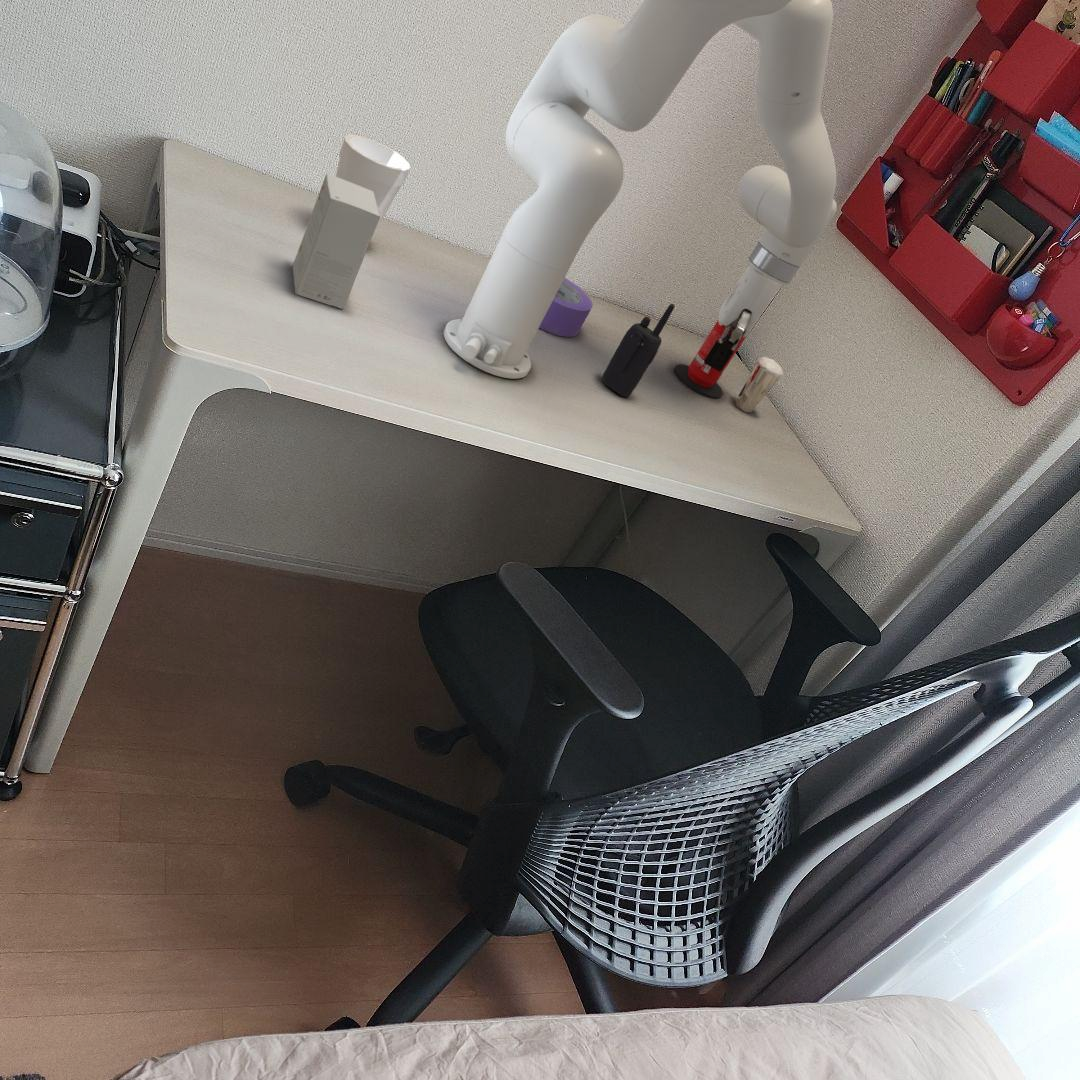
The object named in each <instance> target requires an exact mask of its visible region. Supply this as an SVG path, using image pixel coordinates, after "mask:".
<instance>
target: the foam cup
mask: <svg viewBox="0 0 1080 1080" xmlns="http://www.w3.org/2000/svg"><path fill="white" fill-rule="evenodd" d="M338 156H339V160H338V164H337V169H336V173H335V176H336V177H338V178H341V179H343V180H346V181H348V182H351V183H353V184H356V185H358V186H361V187H363V188H366V189H368V190H371V191H373V192H374V195H375V199H376V203H377V207H378V210H379V214H380V219H379V221H378V223H377V226H376V228H375V231H374V233H373V236H374V234H375V233H376V231H377V230H378V228H379V226H380V224H381V222H382V221H383V219H384V217H385V215H386V213H387V211H388V210H389V208H390V206H391V204H392V203H393V201H394V200H395V197H396V196H397V194H398V192H399V191H400V189H401V187H402V186H403V185H405V182H406V180H407V177H408V175H409V172H410V170H411V166H410V165H411V164H410V163H409V162H408V160H406V158H405V157H404V156H403V155H401V154H400V153H398V152H397V151H395V150H394V149H392V148H391V147H389V146H387V145H385V144H383V143H381V142H379V141H377V140H374V139H372V138H369V137H367V136H364V135H357V134H348V135H345V136H344V139H343V142H342V145H341V147H340V150H339V155H338Z"/></svg>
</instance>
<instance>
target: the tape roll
mask: <svg viewBox="0 0 1080 1080" xmlns="http://www.w3.org/2000/svg"><path fill="white" fill-rule="evenodd" d="M593 306H594V305H593V301H592V299H591V298H590V296H589V295H588V294H587V293H586V292H585V291H584V290H583V289H582V288H581V287H579V285H577V284H576V283H574V282H572V281H571V280H570V279H568V278H566V277H565V278H564V280H563V282H562V284H561V286H560V288H559V290H558V292H557V293H556V295H555V297H554V299H553V301H552V303H551V305H550V307H549V309H548V311H547V313H546V315H545V317H544V318H543V320H542V322H541V324H540V326H539V328H538V329H541V330H542V331H545V332H547V333H549V334H552V335H555V336H559V337H564V338H573V337H576V336H577V335H578V334H579V333H580V331H581V329H582V327H583V325H584V323H585V322H586V320H587V318H588V316H589V314H590V312H591V311H592V309H593Z"/></svg>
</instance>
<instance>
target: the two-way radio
mask: <svg viewBox="0 0 1080 1080" xmlns="http://www.w3.org/2000/svg"><path fill="white" fill-rule="evenodd" d="M675 307H676V305H675V304H674V303H669V305H668V306H667V308H666V309H665V311H664V312H663V314H662V316H661V317H660V319H659V321H658V322H657V324H656V325H655V327H654V328H653V330H652V329H651V328H649V325H650V323H651V318H650V317H649V316H644V317H643V318H642V320H641V321H640V322H638V323H633V324H632V325H631V326H630V327H629V328H628V330H626V332H625V334H624V336H623V337H622V339H621V341H620V342H619V344H618V346H617V348H616V350H615V351H614V354H612V357H611V359H609V360H610V361H609V362H608V365H607V366H606V369H605V370H604V372H603V373H602V377H601V380H602V381H603V383H604V384H605V385H606V386H607V387H609V388H610V389H611V390H612V391H614V392H615V393H617V394H618V395H619V396H621V397H630V396H631V395H632V394H633V392H634V390H635V389H636V387H637V386H638V385H639V383H640V381H641V380H642V378H643V377H644V375H645V374H646V372H647V370H648V368H649V366H650V365H651V364H652V363H653V361H654V359H655V357H656V355H657V353H658V352H659V349H660V346H661V344H662V338H661V336H660V334H661V333H662V331H663V329H664V327H665V326H666V324H667V322H668V320H669V319H670V316H671V315H672V313H673V311H674V309H675Z"/></svg>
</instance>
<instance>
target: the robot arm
mask: <svg viewBox="0 0 1080 1080" xmlns="http://www.w3.org/2000/svg"><path fill="white" fill-rule="evenodd" d="M833 23H834V7H833V2H832V0H643V1H642V3H641V4H640V6H639V7H638V9H637V10H636V12H635V13H634V14H633V16H631V19H630V20H629V21H628V22H627V24H626V25H624V24H623V23H621V22H620V21H618V20H617V19H615V18H613V17H611V16H608V15H605V14H599V13H598V14H596V13H595V14H589V15H585V16H584V17H580V18H579V19H577V20H576V21H574V22H572V24H571V25H569V26H568V27H567V28H565V30H564V31H563V32H562V33H561V34H560V35H559V37H557V39H556V41H555V42H554V43H553V45H552V47H551V48H550V50H549V52H548V53H547V55H546V56H545V58H544V60H543V61H542V62H541V64H540V66H539V67H538V70H537V71H536V72H535V74H534V76H533V77H532V79H531V81H530V82H529V84H528V85H527V87H526V89H525V90H524V91H523V93H522V95H521V96H520V98H519V100H518V102H517V104H516V105H515V107H514V109H513V111H512V113H511V115H510V118H509V119H508V121H507V125H506V130H505V137H504V139H505V147H506V150H507V153H508V155H509V157H510V158H511V160H512V161H513V162H514V163H515V165H516V166H517V167H518V168H519V169H520V170H521V171H522V172H523V173H524V174H526V176H527V177H528V178H529V179H530V180H531V181H532V182H533V183H534V184H535V185H536V186H537V189H536V191H534V193H532V194H531V195H530V196H529V197H528V198H527V199H526V200H524V201H523V202H522V203H521V204H519V206H517V208H516V209H515V210H514V211H513V212H512V214H511V216H510V217H509V219H508V221H507V223H506V225H505V226H504V229H503V231H502V234H501V235H500V238H499V240H498V242H497V245H496V247H495V249H494V251H493V253H492V255H491V258H490V259H489V262H488V264H487V266H486V268H485V270H484V272H483V274H482V277H481V279H480V281H479V283H478V285H477V287H476V290H475V292H474V294H473V295H472V298H471V300H470V302H469V304H468V305H467V309H466V311H465V313H464V315H463V317H462V318H456V319H452V320H449V321H448V323H446V325H445V328H444V329H443V338H444V340H445V342H446V343H447V345H448V346H449V348H450V349H451V350H452V351H453V352H454V353H455V354H456V355H458V356H459V357H460V358H461V359H462V360H464V361H465V362H467V364H470V365H471V366H473V367H474V368H477V369H479V370H481V371H483V372H485V373H488V374H490V375H493V376H496V377H499V378H503V379H511V380H512V379H513V380H515V379H517V380H518V379H522V378H525V377H526V376H528V374H529V372H530V371H531V368H532V361H531V358H530V356H529V355H528V353H527V351H528V349H529V347H530V345H531V344H532V342H533V339H535V336H536V334H537V332H538V330H539V329H540V328H539V326H540V324H541V322H542V320H543V318H544V317H545V315H546V313H547V311H548V309H549V307H550V305H551V303H552V301H553V299H554V297H555V295H556V293H557V292H558V290H559V288H560V286H561V284H562V282H563V280H564V278H566V276H567V275H568V272H569V271H570V269H571V266H572V264H573V263H574V260H575V259H576V256H577V255H578V253H579V251H580V249H581V248H582V245H583V244H584V242H585V241H586V239H587V237H588V235H589V234H590V232H591V231H592V229H594V226H595V225H596V224H597V222H598V221H599V220H600V218H601V217H602V216H603V215H604V213H606V211H607V210H608V209H609V207H610V206H611V204H612V203H613V202H614V201H615V199H616V197H617V196H618V194H619V192H620V191H621V188H622V186H623V181H624V173H625V172H624V165H623V159H622V157H621V155H620V153H619V151H618V149H617V147H615V145H614V143H612V141H611V140H610V139H609V138H608V137H607V136H606V135H604V133H603V132H601V131H600V130H599V129H597V128H596V127H595V126H594V125H593V124H591V123H590V121H588V120H587V119H586V118H584V117H585V116H586V115H587V113H588V112H589V111H590V110H592V111H593V112H594V113H595V114H597V115H598V116H599V117H600V118H602V120H604V121H605V122H607V123H608V124H610V125H611V126H613V127H614V128H616V129H618V130H620V131H623V132H626V133H633V132H638V131H640V130H642V129H644V128H645V127H647V126H648V125H649V124H650V123H651V121H653V119H655V117H656V116H657V115H658V114H659V112H660V111H661V109H662V108H663V106H664V105H665V103H666V102H667V101H668V99H669V98H670V96H671V95H672V93H673V92H674V91H675V89H676V87H677V86H678V85H679V83H680V82H681V80H682V79H683V77H684V76H685V74H686V73H687V71H688V70H689V69H690V67H691V66H692V64H693V63H694V61H695V60H696V58H697V57H698V56H699V54H700V53H701V52H702V51H703V49H704V47H705V46H706V45H707V44H708V42H710V40H711V39H712V38H713V37H715V35H716V34H718V33H720V31H722V30H723V29H725V28H726V27H729V26H730V25H732V24H733V25H735V26H736V27H737V28H739V29H740V30H742V31H744V32H745V33H747V34H748V35H750V36H751V37H753V38H754V39H756V40H757V41H758V43H759V52H758V66H757V67H758V68H757V79H756V87H755V97H754V112H755V116H756V119H757V121H758V123H759V125H760V127H761V129H762V131H763V132H764V133H763V134H765V137H766V138H767V139H768V141H769V142H770V144H771V145H772V147H773V149H774V150H775V152H776V153H777V155H778V157H779V159H780V160H781V163H782V165H783V167H784V170H785V171H784V170H783V169H781V168H779V167H778V166H775V165H771V164H761V165H756V166H754V167H752V168H750V169H749V170H747V171H746V172H745V173H744V174H743V176H742V177H741V178H740V180H739V182H738V185H737V189H736V196H737V200H738V203H739V205H740V207H741V209H742V210H743V211H744V212H745V213H746V214H747V215H748V216H749V217H751V219H753V220H754V221H755V222H756V223H758V224H759V225H761V226H762V227H763V228H765V229H764V231H763V232H762V234H761V235H760V237H759V239H758V241H757V242H756V244H755V246H754V247H753V249H752V250H751V252H750V254H749V255H748V257H747V258H746V263H748V267H747V268H746V269H745V271H744V272H743V274H742V275H741V277H739V279H738V281H737V282H736V283H735V286H734V287H733V288H732V289H731V291H730V293H729V294H728V296H727V297H726V299H725V300H724V301H723V303H722V305H721V306H720V308H719V312H718V318H717V321H718V322H719V325H720V326H722V325H724V326H726V327H725V330H724V332H723V334H722V335H721V337H720V339H719V341H716V342H715V344H714V345H713V347H712V349H711V350H710V352H709V353H708V355H707V356H706V358H705V360H704V363H705V364H707V365H708V366H710V367H712V368H714V369H716V370H717V371H722V370H723V368H724V367H725V365H726V363H727V362H728V360H729V359H730V357H731V356H732V354H733V353H734V351H735V349H736V347H737V345H738V343H739V341H740V339H741V338H742V337H746V338H747V336H748V335H749V333H750V332H751V331H752V330H753V328H754V326H755V325H756V323H757V322H758V321H759V319H760V317H761V316H762V315H763V313H764V311H765V310H766V308H767V306H768V305H769V304H770V301H771V300H772V298H774V296H775V294H776V292H777V290H778V289H779V287H780V286H783V287H784V286H786V287H787V286H789V284H790V283H791V282H792V280H793V279H794V277H795V276H796V274H797V273H798V271H799V270H800V268H801V266H802V265H803V264H804V263H805V262H804V261H805V260H806V259H807V258H808V256H809V255H810V253H811V252H812V250H813V248H814V247H815V245H816V243H817V242H818V241H819V239H820V237H821V236H822V234H823V233H824V232H825V230H826V229H827V227H828V226H829V224H830V222H831V221H832V220H833V218H834V216H835V214H836V212H837V210H838V204H837V202H836V200H835V193H836V186H837V168H836V162H835V157H834V152H833V149H832V145H831V141H830V137H829V133H828V130H827V127H826V124H825V121H824V118H823V115H822V111H821V107H822V106H821V105H822V97H823V92H824V91H823V90H824V84H825V77H826V71H827V70H826V69H827V62H828V56H829V51H830V43H831V36H832V28H833ZM739 315H740V317H739ZM731 325H732V326H733V327H732V326H731ZM734 327H735V328H734ZM745 330H746V332H745ZM728 332H729V334H727V333H728ZM726 335H727V336H726Z"/></svg>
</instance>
